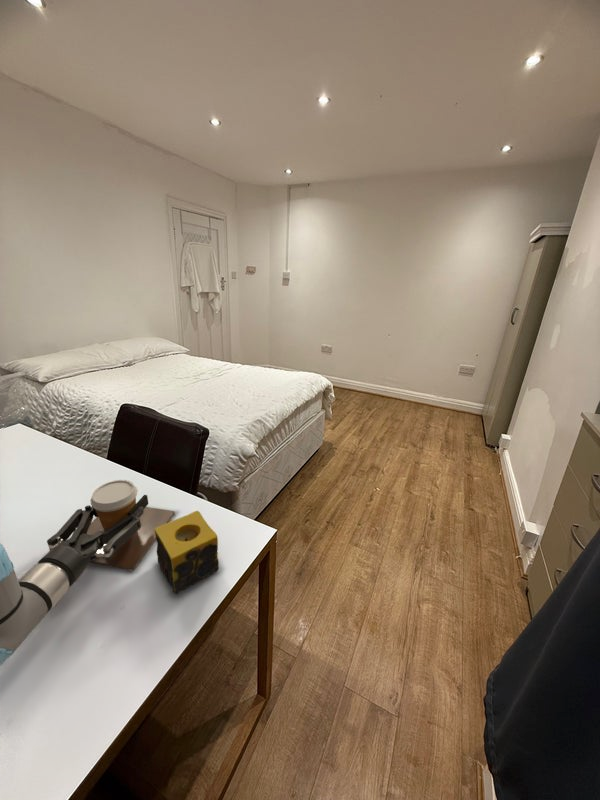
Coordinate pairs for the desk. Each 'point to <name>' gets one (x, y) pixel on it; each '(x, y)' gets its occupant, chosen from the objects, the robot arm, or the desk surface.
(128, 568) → the placemat
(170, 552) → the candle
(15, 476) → the desk surface
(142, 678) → the desk surface
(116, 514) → the disposable coffee cup
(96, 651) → the desk surface
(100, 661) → the desk surface
